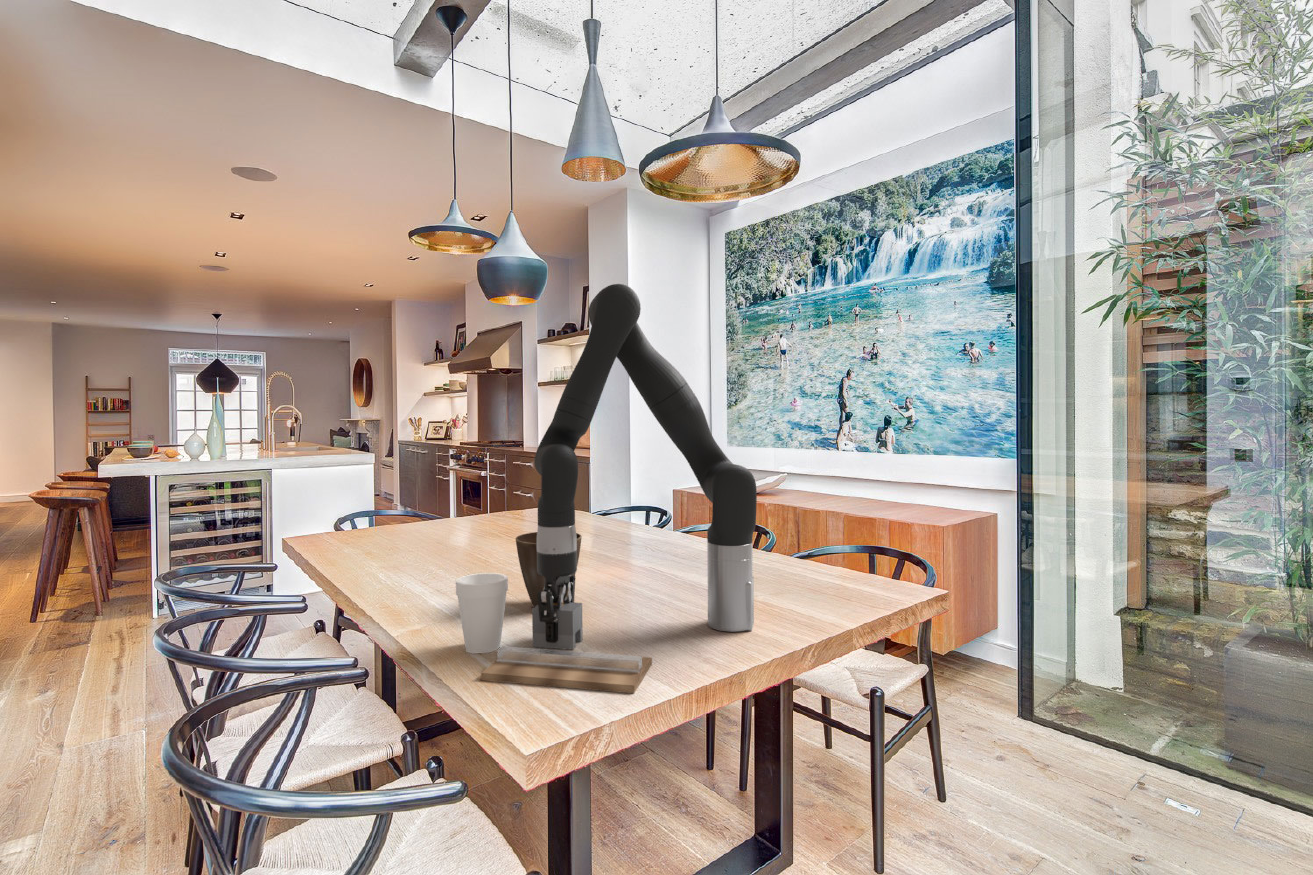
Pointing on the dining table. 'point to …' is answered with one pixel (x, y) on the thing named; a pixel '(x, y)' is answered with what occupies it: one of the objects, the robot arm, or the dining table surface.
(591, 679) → the board
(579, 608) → the block
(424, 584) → the dining table surface
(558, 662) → the rail
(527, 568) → the plant pot
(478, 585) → the foam cup
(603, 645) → the dining table surface
